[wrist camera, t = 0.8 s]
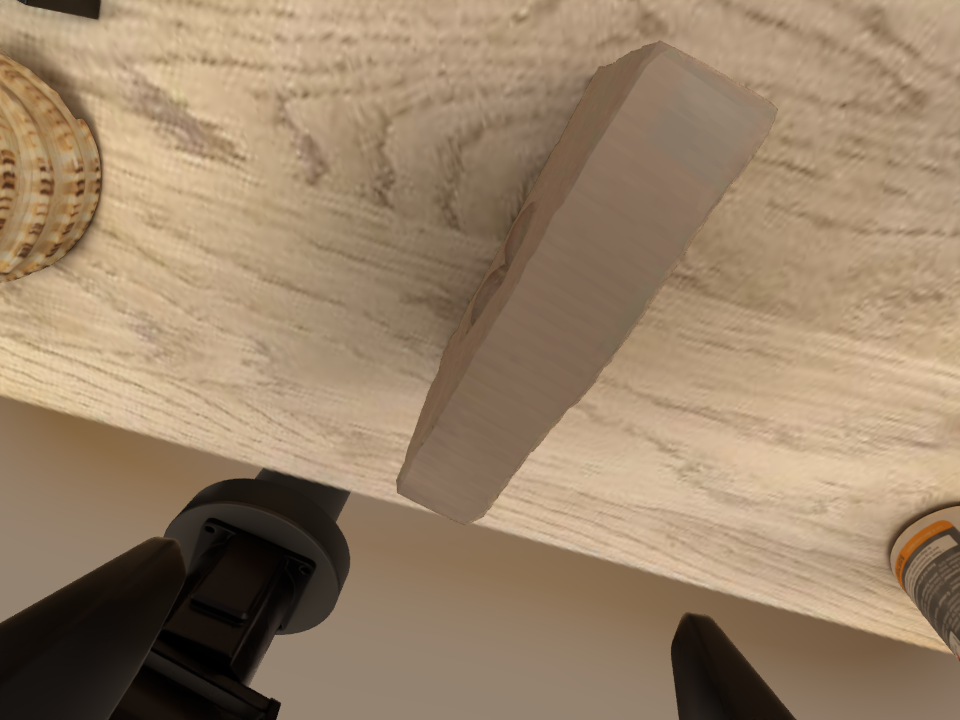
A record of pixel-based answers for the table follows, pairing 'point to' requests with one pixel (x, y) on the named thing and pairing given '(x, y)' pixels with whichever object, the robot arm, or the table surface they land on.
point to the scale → (68, 6)
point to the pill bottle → (933, 571)
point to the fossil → (579, 267)
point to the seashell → (41, 173)
